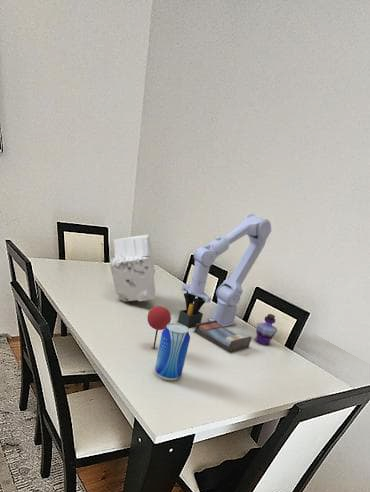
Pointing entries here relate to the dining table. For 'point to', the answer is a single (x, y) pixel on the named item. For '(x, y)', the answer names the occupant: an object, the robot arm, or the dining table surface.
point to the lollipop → (158, 319)
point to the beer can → (172, 351)
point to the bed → (222, 336)
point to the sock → (190, 309)
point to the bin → (189, 318)
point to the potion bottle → (266, 330)
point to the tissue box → (133, 268)
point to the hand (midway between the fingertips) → (191, 312)
